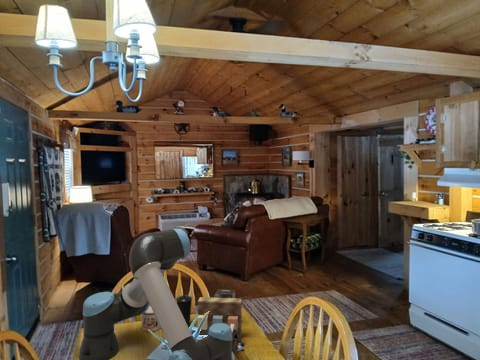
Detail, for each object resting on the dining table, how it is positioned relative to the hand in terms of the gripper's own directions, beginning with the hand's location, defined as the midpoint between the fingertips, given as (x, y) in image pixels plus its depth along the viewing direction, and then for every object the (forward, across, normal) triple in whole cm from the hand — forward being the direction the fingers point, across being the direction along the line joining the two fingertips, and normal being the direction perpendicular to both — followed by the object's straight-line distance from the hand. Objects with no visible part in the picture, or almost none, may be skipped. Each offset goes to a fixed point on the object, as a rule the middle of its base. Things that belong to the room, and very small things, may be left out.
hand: (232, 327), depth 147 cm
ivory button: (+6, -13, -2) cm, 15 cm away
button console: (+11, -7, -9) cm, 15 cm away
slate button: (+6, -7, -2) cm, 9 cm away
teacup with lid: (+15, -39, -9) cm, 43 cm away
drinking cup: (+17, -25, -9) cm, 32 cm away
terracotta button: (+6, 0, -2) cm, 6 cm away
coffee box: (+22, -6, -9) cm, 24 cm away
